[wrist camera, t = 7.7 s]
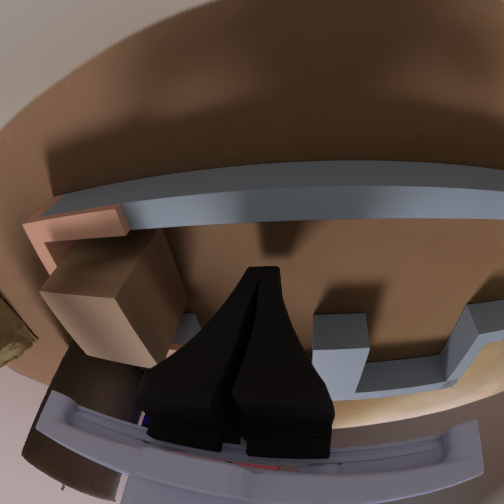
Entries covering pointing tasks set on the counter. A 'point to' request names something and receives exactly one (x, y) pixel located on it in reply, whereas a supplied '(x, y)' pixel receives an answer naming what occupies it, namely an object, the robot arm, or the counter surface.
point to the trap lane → (290, 209)
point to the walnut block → (119, 296)
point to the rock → (13, 335)
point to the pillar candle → (94, 398)
